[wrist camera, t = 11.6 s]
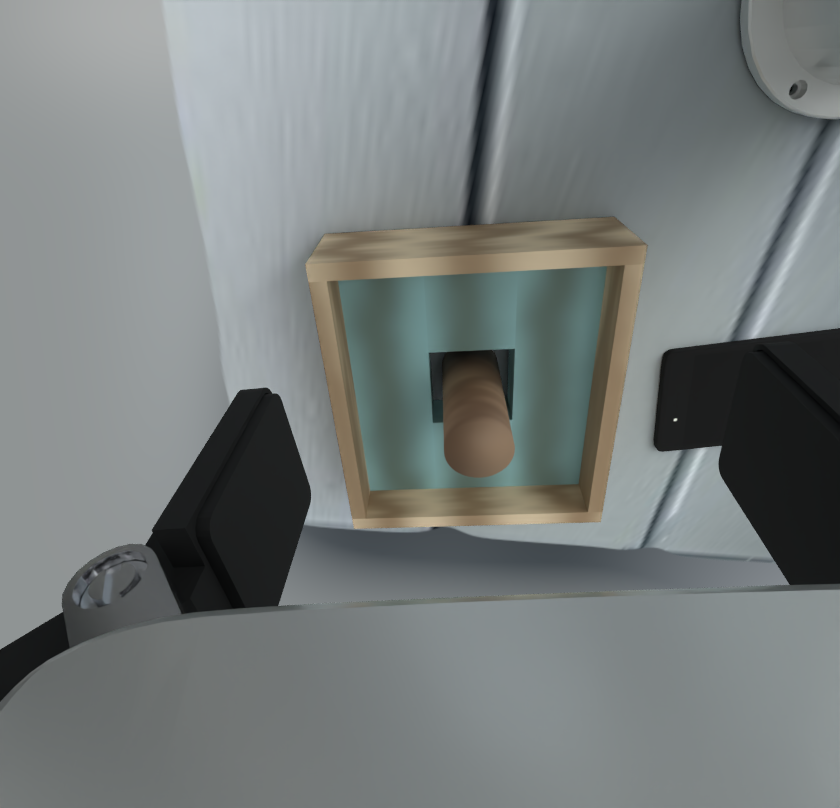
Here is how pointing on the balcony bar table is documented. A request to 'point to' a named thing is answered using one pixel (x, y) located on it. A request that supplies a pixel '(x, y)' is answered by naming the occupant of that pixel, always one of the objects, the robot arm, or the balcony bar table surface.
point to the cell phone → (717, 386)
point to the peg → (475, 414)
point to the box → (470, 331)
